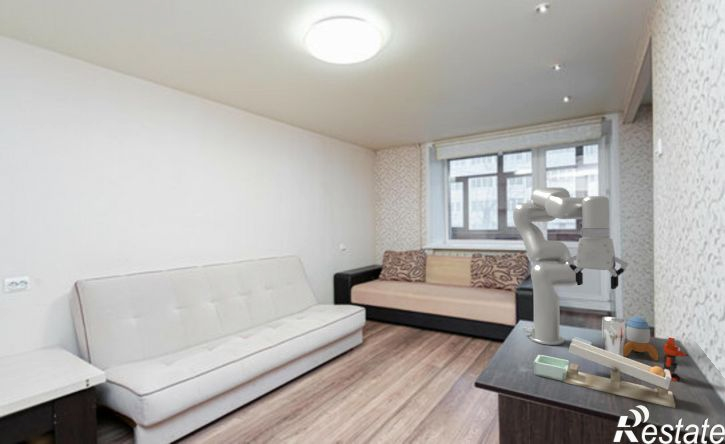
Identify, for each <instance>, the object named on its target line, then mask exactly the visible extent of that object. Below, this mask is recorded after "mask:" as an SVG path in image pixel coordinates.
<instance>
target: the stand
mask: <svg viewBox="0 0 725 444" xmlns="http://www.w3.org/2000/svg"><path fill="white" fill-rule="evenodd" d="M562 382H563V383H565V384H571V385H574V386H579V387H583V388H588V389H592V390H595V391H601V392H604V393H609V394H613V395H618V396H620V397H621V396H622V397H626V398H631V399H635V400H639V401H644V402H648V403H652V404H656V405H661V406H665V407H669V408H674V409H676V403H675V399H674V395H673V391H670V390H669V388H668V389H665V388H662V387H660V386H657V385H656V386H657V388H656V387H655V389H651V388H648V387H646V386H643V385H641V384H637V383H632V382H630V381H629V382H628V381H623V380H621V372H620V371H619V368H616V367H611V368H610V377H604V376H601V375H594V374H590V373H586V372H582V371H579V364H576V363H570V364H569V371H568V374H567V377H566V379H563V381H562Z"/></svg>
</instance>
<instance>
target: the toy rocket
mask: <svg viewBox="0 0 725 444" xmlns="http://www.w3.org/2000/svg"><path fill="white" fill-rule="evenodd" d="M626 340H627V343H625V345H624V350H623V357H624V356H625V358H627V357H628V355H629V354H631V352H633V354H635V355H640V356H641V355H644V353H645V352H646V353H647V352H648V354H649V356H650V357H651V358H652V360H654V361H655V362H657V361H658V359H659V353H658V352H659V351H658V350H657V349H656V348H655V347H654V346H653V345H651V344H650V340H651V330H650V325H649V324H648V321H646V320H645V319H644V318H642V317H639V316H633V317H631V318H629V320H627V323H626ZM632 350H633V351H632Z"/></svg>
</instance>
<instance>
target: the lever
mask: <svg viewBox="0 0 725 444" xmlns="http://www.w3.org/2000/svg"><path fill="white" fill-rule="evenodd" d="M592 343H593V342H592V341H589V340H587V339H583V338H580V337H577V336H574V337H573V338H572V339H571V342H570V345H569V348H568V353H570V354H573V355H576V356H578V357H580V358H584V359H585V360H589V361H591V362H594V363H596V364H599V365H601V366H604V367H607V368H609V369H611V367H616V368H619V371H620V373H623V374H626V375H628V376H631V377H634V378H635V379H639V380H640V385H643V386H646V387H648V388H651V389H655V388H656V386H660V387H662V388H665V389H668V390H669V387H670V384H671V381H672V380H671V375H670V371H669V370H667V369H663V370H664V372H665V376H664V377H662V376H659V375H656V374H653V373H651V372H650V370H651V368H652V367H653V366H650V365H647V364H645V363H642V362H640V361H637V360H633V359H630V358H627V357H624V356H623V357H622V356H620V355H617V354H614V353H611V352H608V351H606V350H605V349H603V348H599V347H596V346H594V345H592Z"/></svg>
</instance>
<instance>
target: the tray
mask: <svg viewBox="0 0 725 444" xmlns="http://www.w3.org/2000/svg"><path fill="white" fill-rule="evenodd" d="M569 367H570V360H567V359H564V358H563V359H562V358H559V357H553V356H548V355H544V354H537V356H536V358H535V359H534V360H533V375H534V376H539V377H542V378H546V379H547V378H548V379H551V380H556V381H561V382H563V379H566V377H567V374H568V371H569Z"/></svg>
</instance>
